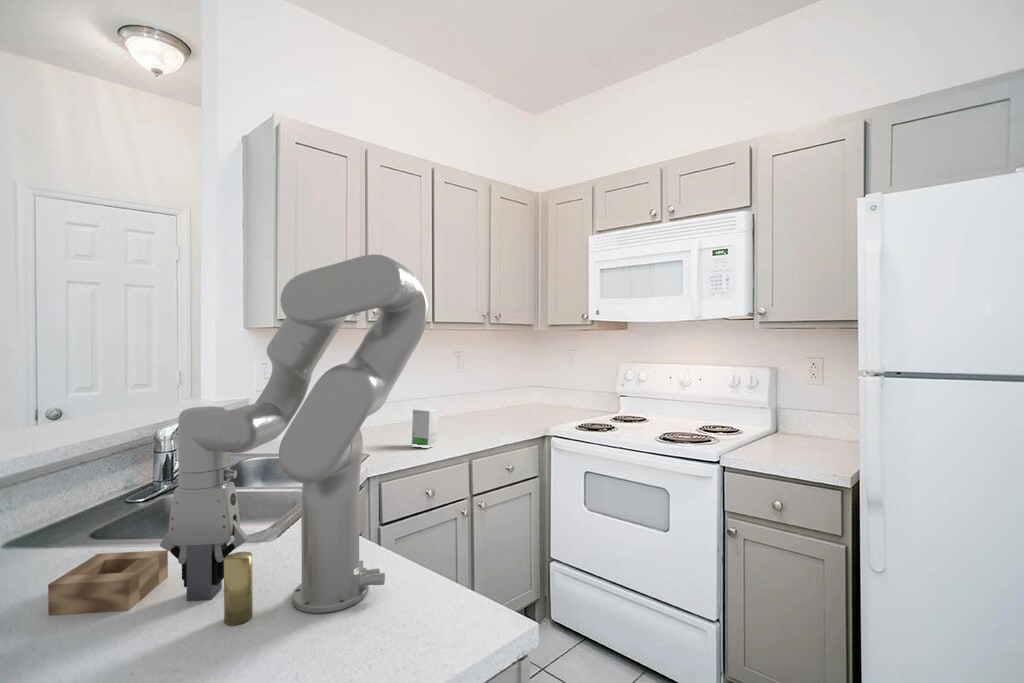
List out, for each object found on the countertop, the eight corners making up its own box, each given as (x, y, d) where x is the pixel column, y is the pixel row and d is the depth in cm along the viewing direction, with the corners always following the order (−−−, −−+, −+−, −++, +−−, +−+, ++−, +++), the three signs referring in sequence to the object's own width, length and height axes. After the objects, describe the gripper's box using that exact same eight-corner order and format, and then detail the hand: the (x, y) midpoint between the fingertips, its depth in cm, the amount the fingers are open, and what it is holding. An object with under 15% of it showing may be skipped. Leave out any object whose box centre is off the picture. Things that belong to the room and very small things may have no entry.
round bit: (256, 611, 85) (256, 550, 85) (246, 625, 81) (246, 561, 81) (230, 613, 84) (230, 552, 84) (219, 626, 80) (219, 562, 80)
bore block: (167, 576, 97) (167, 550, 97) (128, 610, 85) (128, 580, 85) (98, 580, 95) (97, 553, 95) (48, 615, 83) (48, 584, 83)
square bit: (221, 588, 92) (221, 532, 92) (211, 599, 88) (211, 541, 88) (197, 589, 92) (197, 533, 92) (186, 601, 88) (186, 542, 88)
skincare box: (411, 447, 210) (411, 409, 210) (420, 444, 216) (420, 407, 216) (429, 449, 207) (429, 410, 207) (437, 446, 213) (437, 408, 213)
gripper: (262, 471, 95) (262, 570, 95) (164, 474, 93) (164, 575, 93) (246, 482, 87) (246, 590, 88) (139, 486, 85) (140, 596, 85)
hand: (204, 581), depth 90 cm, fingers closed on square bit, 4 cm apart
